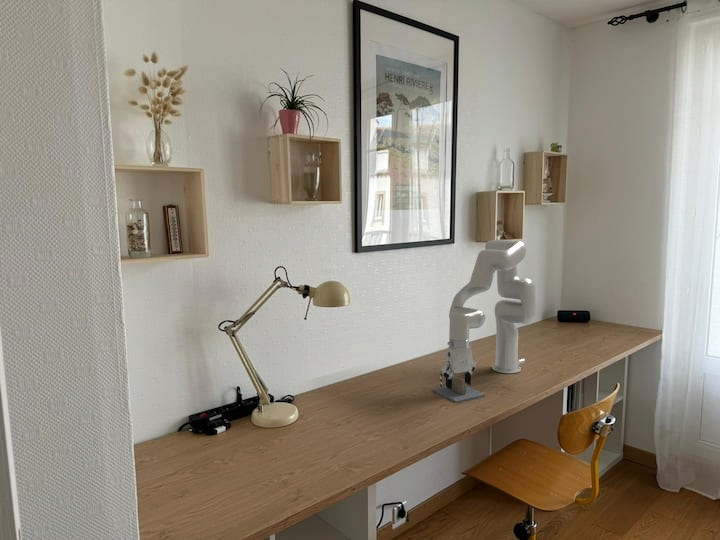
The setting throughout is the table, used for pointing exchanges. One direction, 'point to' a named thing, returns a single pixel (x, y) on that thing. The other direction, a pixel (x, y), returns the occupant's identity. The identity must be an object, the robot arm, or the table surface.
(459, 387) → the cuneiform tablet
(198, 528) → the table surface
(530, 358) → the table surface
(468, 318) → the robot arm
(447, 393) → the mat
